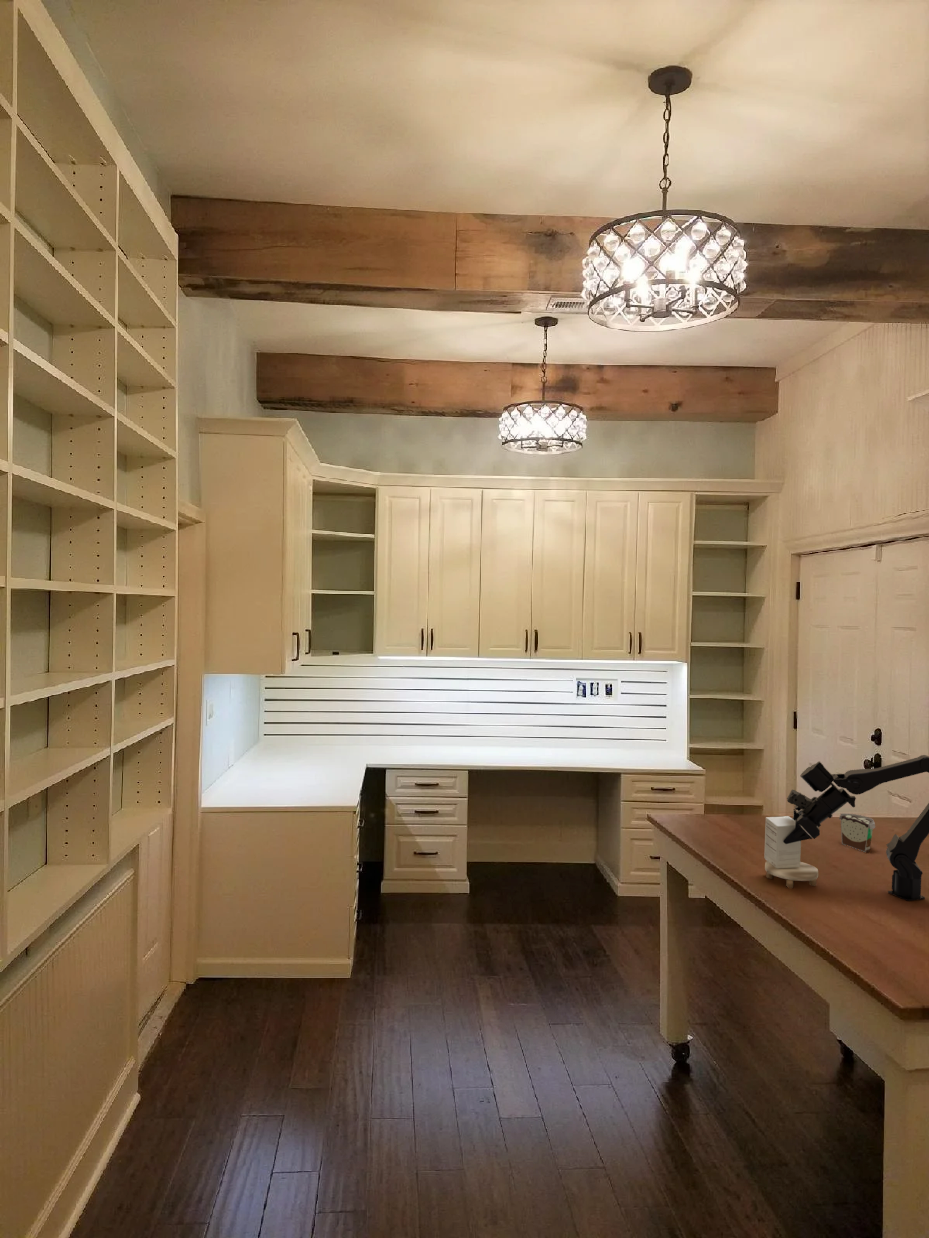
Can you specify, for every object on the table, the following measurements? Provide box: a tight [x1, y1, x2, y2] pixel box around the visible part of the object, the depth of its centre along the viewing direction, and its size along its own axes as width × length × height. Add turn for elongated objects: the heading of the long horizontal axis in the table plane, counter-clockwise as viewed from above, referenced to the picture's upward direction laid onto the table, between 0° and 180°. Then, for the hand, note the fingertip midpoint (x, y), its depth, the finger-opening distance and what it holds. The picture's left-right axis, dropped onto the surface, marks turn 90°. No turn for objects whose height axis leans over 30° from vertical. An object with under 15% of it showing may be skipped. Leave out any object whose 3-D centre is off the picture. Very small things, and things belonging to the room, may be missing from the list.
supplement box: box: [763, 815, 802, 869], centre depth 225 cm, size 7×7×13 cm
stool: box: [764, 860, 819, 889], centre depth 224 cm, size 14×14×4 cm
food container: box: [838, 812, 876, 853], centre depth 259 cm, size 12×6×10 cm, turn 22°
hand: (783, 838), depth 225 cm, fingers open, 9 cm apart
